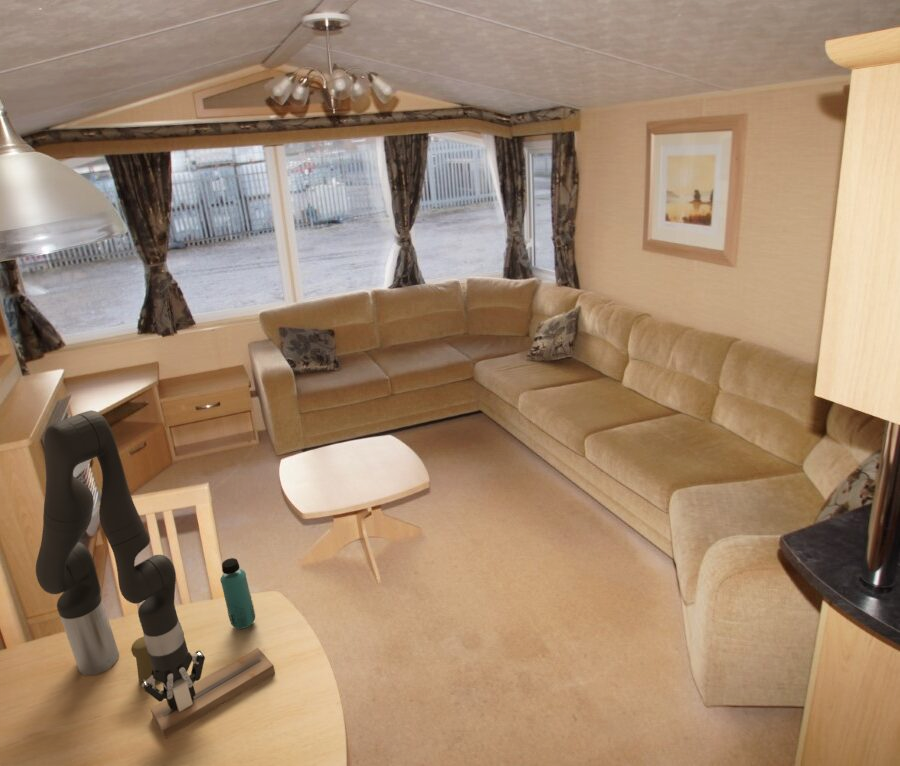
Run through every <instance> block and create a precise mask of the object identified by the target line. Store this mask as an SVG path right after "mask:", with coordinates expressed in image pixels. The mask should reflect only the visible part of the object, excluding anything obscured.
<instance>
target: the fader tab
mask: <svg viewBox="0 0 900 766" xmlns="http://www.w3.org/2000/svg"><path fill="white" fill-rule="evenodd" d="M187 684H188V683H187V680H186V681H184V679H183V678H181V679H178V680H176V681H175V682H174V683H173V688H172V691H173V696H174V698H175V701H176V705H177V708H178V710H179V712H180V711H182V710H184V709H185V708H187V707H189V706H191V705H192V704H193V703H192V699H191V696H190V692H189V689H188V685H187Z"/></svg>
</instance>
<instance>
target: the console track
mask: <svg viewBox="0 0 900 766" xmlns="http://www.w3.org/2000/svg"><path fill="white" fill-rule="evenodd" d="M275 674H276V672H275V666H274V663H272V662H271V660H269V659H268V657H267V656H266V655H265V654H264V652H262V650H261V649H260V648H259V647H256V648H255V649H253V650H250V651H249V652H247V653H246V654H244V655H242V656H240V657H239V658H236V659H235V660H234V661H232V662H230V663H229V664H226V665H225V666H223V667H221V668H219V669H218V670H216V671H214V672H212V673H210V674H209V675H207V676H205V677H204V678H201V679H200V680H198V681H195V682H194V684H193V686H194V690H195V696H194V697H193V698H194V699H193V700H192V703H193V704H192V705H191V706H189V707H187V708H185V709H184V710H182V711H180V712H179V710H178V709H176V710H174V709H171V708H170V707H169V706H168V703H167V700H166V699H164V700H163V701H161V702H160V703H157V704H156V705H154V706H152V707H150V712H151V715H152V718H153V719H154V721H155V723H156V725H157V726H158V728H159V730H160V731H161V733H162V735H163V737H164V738H165V740H166V739H167V738H169V737H171V736H173V735H175V734H176V733H178V732H180V731H182V730H183V729H185V728H186V727H188V726H190V725H191V724H193V723H195V722H196V721H198V720H199V719H201V718H203V717H204V716H206V715H208V714H210V713H211V712H213V711H215V710H216V709H218V708H220V707H222V706H224V705H225V704H226V703H228V702H230V701H231V700H233V699H234V698H236V697H239V696H240V695H241V694H244V693H245V692H247V691H248V690H250V689H251V688H253V687H255V686H257V685H259V684H260V683H261V682H263V681H264V680H266V679H268V678H270V677H272V675H273V676H274V675H275Z"/></svg>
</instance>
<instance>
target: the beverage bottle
mask: <svg viewBox="0 0 900 766" xmlns="http://www.w3.org/2000/svg"><path fill="white" fill-rule="evenodd" d="M221 569H222V570H221V571H222V573H223V574H222V575H221V577H220V583H221V588H222V593H223V597H224V600H225V604H226V605H225V606H226V610H227V615H228V618H229V622H230V624H231V626H232V627H233V628H234V629H241V630H242V629H245V628H248V627H249V626H251V625H252V624H253V623H254V622H255V620H256V616H257V615H256V611H255V606H254V601H253V598H252V595H251V590H250V588H249V582H248V578H247V573H246V571H245V570H244V569H242V568H241V567H240V564H239V561H238V559H236V558H235V557H233V558H232V557H231V558H227V559H225V560H224V561H223V562H222V564H221Z"/></svg>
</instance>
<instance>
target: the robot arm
mask: <svg viewBox="0 0 900 766" xmlns="http://www.w3.org/2000/svg"><path fill="white" fill-rule="evenodd" d="M43 451H44V461H45V463H44V464H45V479H46V480H45V492H44V493H45V494H44V502H43V523H42V524H43V525H42V534H41V542H40V546H39V551H38V555H37V557H36V562H35V563H36V564H35V575H36V579H37V583H38V584H39V587H41V589H42V590H43V591H44V592H46V593H47V594H51V595H59V594H61V593H62V594H61V595H59V597H58V600H57V602H56V609H57V612H58V614H59V617H60V618H59V619H60V620H61V623H62V626H63V628H64V631H65V634H66V637H67V640H68V643H69V646H70V648H71V651H72V655H73V657H74V660H75V663H76V666H77V668H78V669H77V670H78V671H79V673H80V674H81V675H83V676H95V675H98V674H99V675H100V674H101V673H104V672H106V671H108V670H109V669H111V668H112V667H113V666H114V665H115V664H116V663H117V661H119V658H120V653H119V650H118V649H119V648H118V645H117V642H116V639H115V636H114V633H113V630H112V626H111V624H110V620H109V618H108V615H107V611H106V607H105V605H104V602H103V599H102V595H101V592H102V591H101V590H102V589H101V585H100V580H99V576H98V572H97V568H96V564H95V560H94V558H93V554H92V553H91V551H90V550H89V549H88V547H87V546H86V545H85V544H84V543H82V542H81V541H80V540H81V539H82V538H83V536H84V535H85V533H86V532H87V530H88V528H89V526H90V524H91V521H92V518H93V512H94V511H93V509H94V503H95V502H94V501H95V500H94V495H93V493H92V491H91V489H90V488H89V486H87V485H86V484H85V483H83V482H82V481H81V480H80V479H79V478H77V477H75V476H74V471H75V468H76V467H77V466H78V465H79V464H80V465H81V464H82V463H84V462H87V461H90V460H92V459H94V458H96V459H97V461H98V463H99V466H100V470H101V475H102V477H101V478H102V482H101V483H102V484H101V485H102V486H101V495H100V502H99V509H98V510H99V512H98V513H99V516H98V517H99V522H100V526H101V529H102V531H103V533H104V535H105V537H106V540H107V541H108V544H109V546H110V548H111V549H112V553H113V557H114V561H115V566H116V572H117V580H118V586H119V588H118V589H119V590H120V593H121V595H122V597H123V598H124V599H125V601H127V602H129V603H131V604H140V605H139V608H138V610H137V614H138V619H139V622H140V626H141V629H142V632H143V637H144V641H145V645H146V648H147V651H148V655H149V658H150V662H151V665H152V672H151V676H150V677H149V678H148V679H147V680H143V681H142V682H141V685H142V686H141V685H140V686H141V687H142V688H143V690H144V692H146V693H147V694H149V695H150V696H151V697H153V698H154V699H156V700H157V701H158V702H160V703H161V702H163V701H164V700H167V703H168V706H169V707H170V708H171V709H174V710H176V709H178V708H177V705H176V701H175V698H174V696H173V691H172V688H173V683H174V682H175V681H176V680H178V679H181V678H183V679H184V681H186V680H187V683H188V684H187V685H188V689H189V692H190V696H191V699H192V700H193V699H194V698H193V697H194V696H195V690H194V686H193V684H194V683H196V682H198V681H200V680H201V679H202V678H201V677H202V673H203V668H204V665H205V661H206V659H205V658H206V656H205V655H204V654H203V653H202V651H201V650H200V649H199V650H196V652H195V653H190V652H189V649H188V646H187V642H186V638H185V632H184V630H183V627H182V625H181V622H180V620H179V618H178V612H177V610H176V606H175V592H176V581H177V579H176V578H177V575H176V569H175V566H174V564H173V562H172V561H171V559H170V558H169V557H168V556H166V555H164V554H155V555H152V556H150V557H148V558H147V559H145V560H144V561H141V562H139V563H138V564H136V565H135V561H136V557H137V556H138V555H139V553H141V552H142V551H143V550H144V549H145V548H147V547H148V546H149V544H150V541H151V540H150V535H149V534H148V532H147V529H146V527H145V525H144V523H143V521H142V518H141V517H140V513H139V512H138V510H137V507H136V505H135V503H134V500H133V497H132V494H131V492H130V488H129V484H128V480H127V476H126V473H125V469H124V465H123V463H122V459H121V456H120V453H119V449H118V445H117V443H116V439H115V437H114V434H113V431H112V429H111V427H110V424H109V422H108V421H107V419H106V418H105V416H103V415H102V414H101V413H100V412H98V411H96V410H87V411H84V412H81V413H77V414H75V415H72V416H69V417H67V418H64V419H62V420H59V421H56V422H53V423H52V424H50V425H49V426H48V427H47V428H46V430H45V432H44V438H43ZM191 664H192V667H191V672H190V675H189V674H188V670H189V669H190V665H191ZM155 680H157V681H160V683H161V684H162V690H159V688H157V687H156V685H155V683H154V681H155Z"/></svg>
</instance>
